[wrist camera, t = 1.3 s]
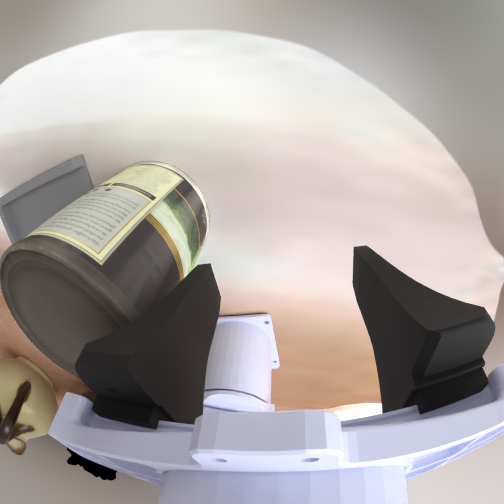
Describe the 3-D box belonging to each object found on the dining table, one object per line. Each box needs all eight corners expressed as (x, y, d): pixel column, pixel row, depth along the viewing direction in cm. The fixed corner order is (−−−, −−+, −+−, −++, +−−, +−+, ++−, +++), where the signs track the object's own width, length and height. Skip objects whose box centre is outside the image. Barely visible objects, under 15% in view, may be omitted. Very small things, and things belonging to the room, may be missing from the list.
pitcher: (26, 378, 53) (-3, 439, 32) (-9, 326, 41) (-53, 395, 19) (81, 406, 53) (54, 478, 32) (46, 356, 41) (0, 447, 20)
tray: (134, 287, 27) (127, 298, 26) (49, 292, 30) (42, 300, 28) (82, 154, 20) (71, 159, 18) (4, 195, 22) (-5, 201, 21)
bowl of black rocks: (161, 394, 40) (134, 490, 24) (166, 429, 50) (149, 498, 34) (65, 358, 39) (26, 436, 23) (89, 402, 49) (65, 463, 33)
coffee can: (235, 214, 22) (193, 356, 10) (168, 282, 27) (114, 403, 15) (142, 134, 19) (5, 198, 7) (91, 218, 24) (-3, 312, 11)
